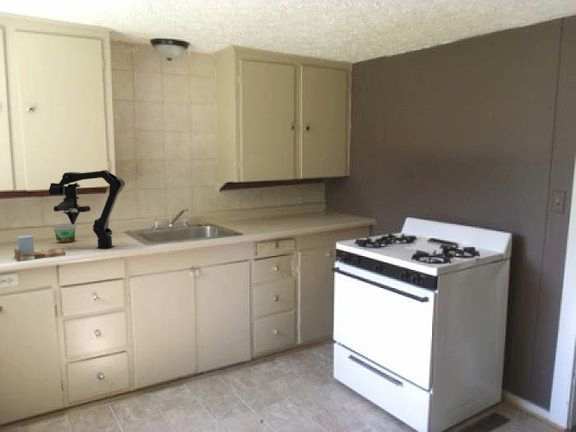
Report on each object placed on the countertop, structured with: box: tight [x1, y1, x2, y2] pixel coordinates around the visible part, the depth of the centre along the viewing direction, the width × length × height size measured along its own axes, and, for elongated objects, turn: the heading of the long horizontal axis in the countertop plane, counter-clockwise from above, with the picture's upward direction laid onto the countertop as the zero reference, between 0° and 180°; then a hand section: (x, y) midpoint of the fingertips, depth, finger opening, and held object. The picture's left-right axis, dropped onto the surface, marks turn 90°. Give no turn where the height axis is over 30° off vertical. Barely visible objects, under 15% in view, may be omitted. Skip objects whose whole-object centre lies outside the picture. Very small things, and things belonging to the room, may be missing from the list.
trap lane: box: [14, 247, 66, 262], centre depth 236 cm, size 21×12×4 cm, turn 127°
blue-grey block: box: [17, 234, 35, 254], centre depth 232 cm, size 6×5×9 cm
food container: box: [52, 224, 77, 244], centre depth 269 cm, size 12×6×10 cm, turn 126°
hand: (73, 224), depth 253 cm, fingers closed
